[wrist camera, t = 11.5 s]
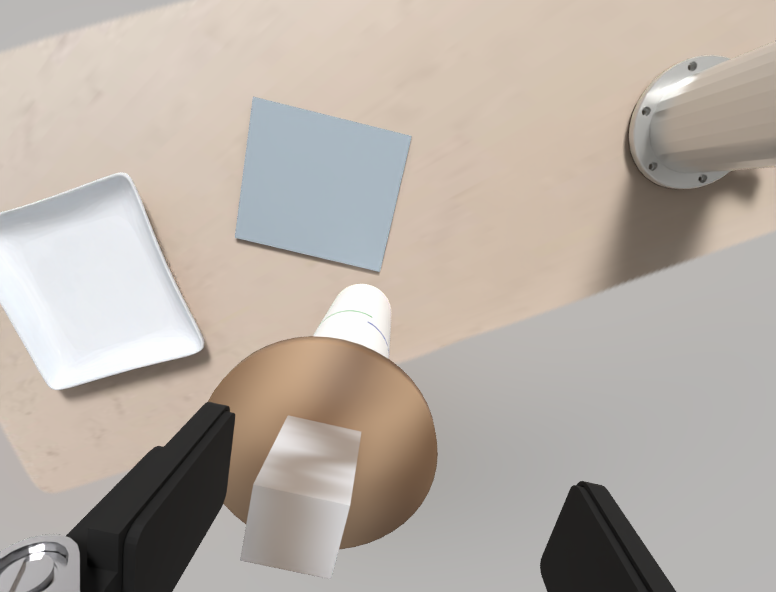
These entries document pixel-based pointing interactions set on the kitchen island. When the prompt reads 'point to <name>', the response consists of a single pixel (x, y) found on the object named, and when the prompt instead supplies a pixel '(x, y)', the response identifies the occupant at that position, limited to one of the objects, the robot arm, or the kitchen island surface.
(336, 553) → the lid
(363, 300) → the cylindrical container
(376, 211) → the mat
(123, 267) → the salad plate
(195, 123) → the kitchen island surface
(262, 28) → the kitchen island surface
